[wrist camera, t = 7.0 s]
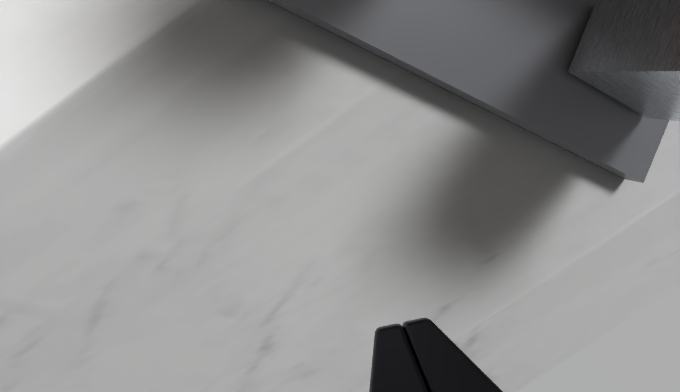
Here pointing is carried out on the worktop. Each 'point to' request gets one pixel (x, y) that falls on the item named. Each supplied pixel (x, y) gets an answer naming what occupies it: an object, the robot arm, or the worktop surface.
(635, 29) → the light grey block
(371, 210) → the worktop surface
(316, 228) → the worktop surface
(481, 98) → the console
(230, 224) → the worktop surface
